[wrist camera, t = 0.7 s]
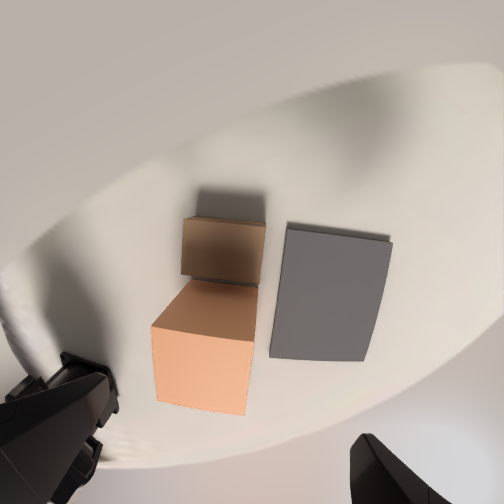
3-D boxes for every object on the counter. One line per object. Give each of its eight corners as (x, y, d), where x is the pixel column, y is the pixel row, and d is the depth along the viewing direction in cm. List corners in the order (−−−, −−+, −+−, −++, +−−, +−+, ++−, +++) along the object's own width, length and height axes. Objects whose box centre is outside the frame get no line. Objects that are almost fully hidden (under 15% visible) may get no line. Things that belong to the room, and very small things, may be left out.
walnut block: (192, 263, 20) (180, 274, 17) (195, 215, 19) (183, 219, 16) (260, 271, 20) (259, 283, 17) (265, 222, 19) (265, 227, 16)
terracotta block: (189, 337, 21) (157, 400, 13) (191, 279, 20) (150, 326, 12) (251, 346, 21) (244, 415, 13) (258, 287, 20) (254, 341, 12)
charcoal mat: (269, 353, 21) (269, 357, 20) (286, 228, 19) (287, 229, 18) (361, 357, 21) (363, 361, 20) (389, 241, 19) (392, 243, 18)
